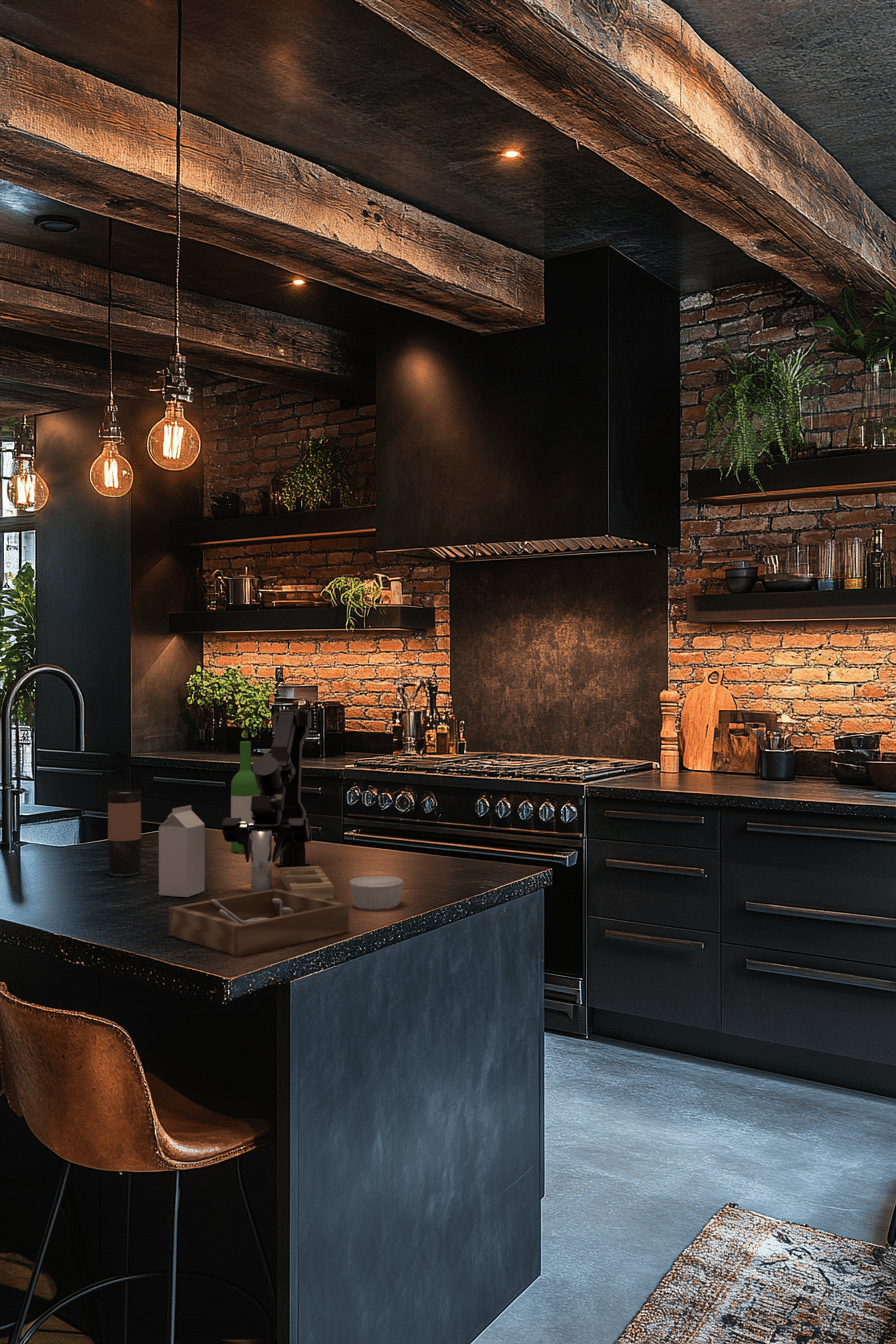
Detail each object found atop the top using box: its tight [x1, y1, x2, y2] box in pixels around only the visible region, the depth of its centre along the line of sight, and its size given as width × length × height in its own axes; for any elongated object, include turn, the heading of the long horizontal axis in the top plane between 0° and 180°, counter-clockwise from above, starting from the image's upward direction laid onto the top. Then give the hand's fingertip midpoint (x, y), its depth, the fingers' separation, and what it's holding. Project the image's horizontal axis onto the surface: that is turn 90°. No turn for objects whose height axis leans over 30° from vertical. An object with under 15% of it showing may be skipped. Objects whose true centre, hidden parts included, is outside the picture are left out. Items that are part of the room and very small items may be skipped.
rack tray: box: [168, 888, 350, 957], centre depth 195 cm, size 22×24×5 cm
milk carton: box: [158, 805, 206, 898], centre depth 231 cm, size 7×7×19 cm
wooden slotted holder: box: [280, 865, 335, 900], centre depth 237 cm, size 26×9×2 cm, turn 14°
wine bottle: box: [230, 740, 260, 853], centre depth 288 cm, size 8×8×30 cm
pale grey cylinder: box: [250, 829, 273, 893], centre depth 229 cm, size 4×4×14 cm
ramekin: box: [349, 875, 404, 911], centre depth 218 cm, size 11×11×5 cm
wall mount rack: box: [210, 898, 293, 924], centre depth 196 cm, size 16×14×6 cm
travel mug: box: [107, 789, 142, 874], centre depth 254 cm, size 8×8×20 cm
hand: (260, 861), depth 228 cm, fingers open, 5 cm apart
